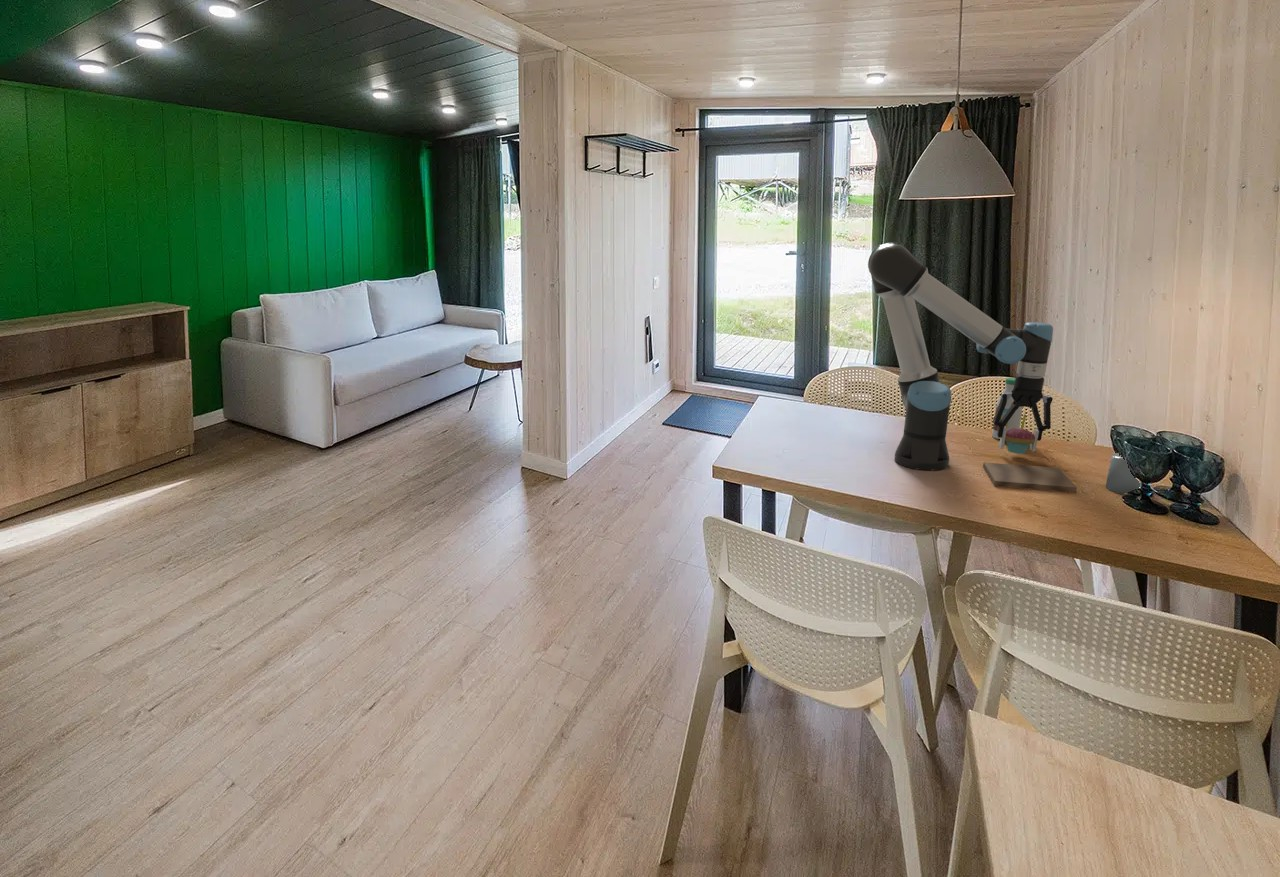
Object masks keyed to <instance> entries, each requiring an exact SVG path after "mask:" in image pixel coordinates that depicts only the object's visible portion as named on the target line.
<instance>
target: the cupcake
mask: <svg viewBox="0 0 1280 877" xmlns="http://www.w3.org/2000/svg"><path fill="white" fill-rule="evenodd" d="M1026 414H1027V411H1026V412H1025V411H1024V414H1023V416H1022V420H1021V421H1022V422H1021V424H1020V428H1019V429H1017V428H1012V429H1010V430H1008V431H1007V432H1006V437H1005V443H1006V446H1007V451H1008V452H1010V453H1013V454H1018V455H1019V454H1026V452H1027V450H1028V448H1029V447H1031V444H1032V443H1034V442H1035V436H1034V434H1033V432H1031V431H1030V430H1028V429H1026V428H1025V429H1024V427H1025V423H1026V422H1025V421H1026V418H1027V415H1026Z"/></svg>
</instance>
